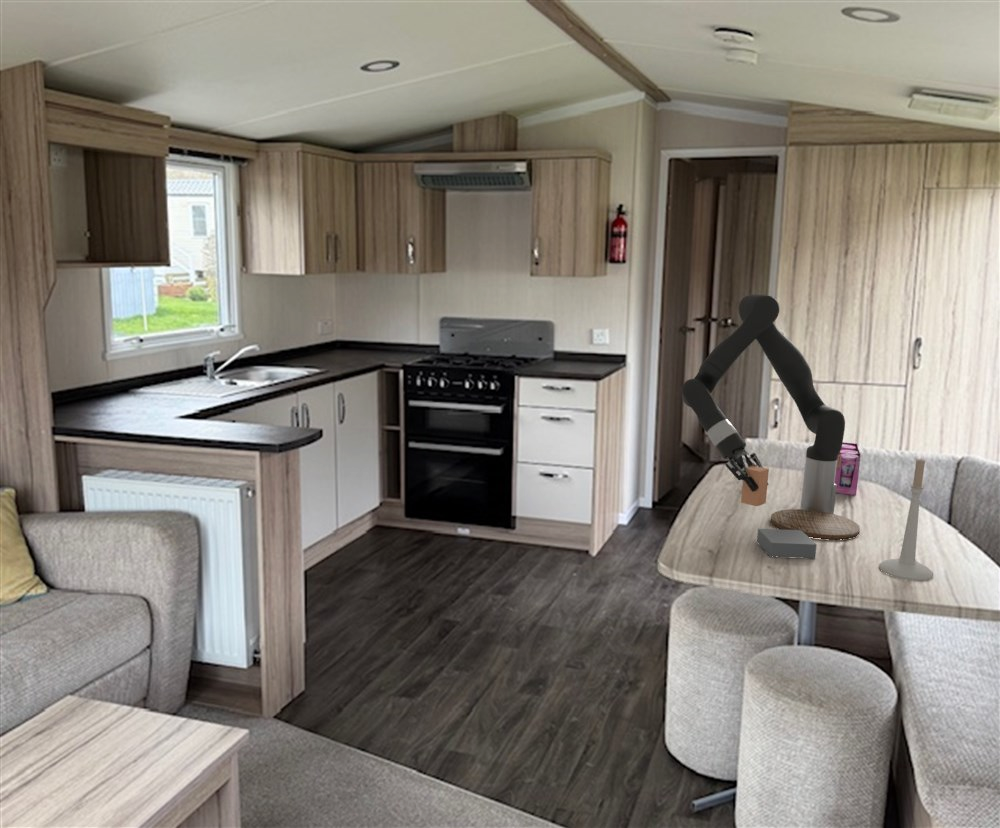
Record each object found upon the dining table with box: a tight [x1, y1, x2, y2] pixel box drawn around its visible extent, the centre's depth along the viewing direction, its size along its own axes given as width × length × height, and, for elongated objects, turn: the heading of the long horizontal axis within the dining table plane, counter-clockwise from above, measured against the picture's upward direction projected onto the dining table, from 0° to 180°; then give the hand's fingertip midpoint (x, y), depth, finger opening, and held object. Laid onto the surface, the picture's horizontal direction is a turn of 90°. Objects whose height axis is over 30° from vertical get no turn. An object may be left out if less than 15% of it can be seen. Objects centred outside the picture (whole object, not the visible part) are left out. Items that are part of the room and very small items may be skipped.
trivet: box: [770, 508, 861, 541], centre depth 268 cm, size 25×25×2 cm
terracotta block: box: [740, 465, 770, 507], centre depth 255 cm, size 5×5×10 cm
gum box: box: [835, 442, 862, 496], centre depth 315 cm, size 24×8×14 cm, turn 162°
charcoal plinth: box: [756, 528, 818, 559], centre depth 245 cm, size 12×12×4 cm
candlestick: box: [878, 458, 934, 582], centre depth 230 cm, size 13×13×30 cm
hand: (760, 488), depth 254 cm, fingers closed on terracotta block, 5 cm apart
